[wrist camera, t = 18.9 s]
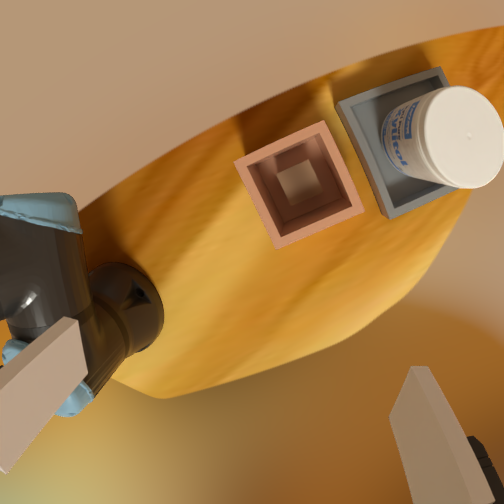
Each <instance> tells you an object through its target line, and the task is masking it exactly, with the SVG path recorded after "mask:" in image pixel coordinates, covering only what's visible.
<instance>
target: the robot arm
mask: <svg viewBox="0 0 504 504" xmlns="http://www.w3.org/2000/svg"><path fill="white" fill-rule="evenodd" d="M82 234H83V230H82V229H81V227H80V222H79V216H78V210H77V205H76V202H75V200H74V199H73V197H71V196H70V195H69V194H66V193H60V192H58V193H30V194H15V195H3V196H0V321H1V320H4V319H6V321H7V323H8V327H9V330H10V333H11V336H12V339H11V340H8V341H7V342H6V345H5V346H4V347H3V353H2V358H3V362H4V365H5V366H3V365H1V366H0V470H1V471H2V472H3V473H5V474H7V473H8V472H9V471H10V469H11V468H12V467H13V465H14V464H15V463H16V462H17V460H18V459H19V458H20V456H21V455H22V454H23V452H24V451H25V450H26V449H27V447H28V446H29V445H30V443H31V442H32V441H33V440H34V438H35V437H36V436H37V435H38V433H39V432H40V431H41V430H42V428H43V427H44V426H45V425H46V423H47V422H48V421H49V420H50V418H51V417H52V416H53V415H54V414H55V415H58V416H62V417H72V416H75V415H77V414H78V413H80V412H81V411H82V410H83V409H84V407H85V406H86V405H87V404H88V403H90V402H92V401H93V399H94V398H95V396H96V395H97V394H98V392H99V391H100V390H101V389H102V387H103V386H104V385H105V383H106V382H107V381H108V380H109V378H110V377H111V376H112V374H113V373H114V372H115V371H116V369H117V368H118V367H119V366H120V364H121V363H122V362H123V361H124V359H125V358H127V357H129V356H131V355H133V354H134V353H137V352H140V351H142V350H144V349H146V348H148V347H149V346H150V345H151V344H152V343H153V342H154V341H155V339H156V338H157V337H158V336H159V334H160V332H161V330H162V327H163V323H164V310H163V305H162V302H161V299H160V297H159V295H158V293H157V291H156V289H155V288H154V286H153V285H152V284H151V282H150V281H149V280H148V279H147V278H146V277H145V276H144V275H143V274H142V273H140V272H139V271H138V270H136V269H134V268H133V267H131V266H128V265H126V264H122V263H116V262H111V263H105V264H103V265H100V266H99V267H97V268H95V269H94V270H92V271H91V272H89V273H88V271H87V265H86V259H85V253H84V246H83V239H82ZM389 420H390V423H391V427H392V430H393V433H394V436H395V439H396V443H397V446H398V449H399V453H400V456H401V459H402V463H403V466H404V470H405V473H406V477H407V480H408V484H409V488H410V492H411V496H412V500H413V503H414V504H504V487H503V485H502V483H501V480H500V478H499V476H498V474H497V472H496V470H495V468H494V467H493V466H492V462H491V460H490V458H488V454H487V452H486V450H485V448H484V446H483V444H482V443H480V442H479V441H478V440H477V439H476V438H475V437H474V436H469V437H466V436H465V434H464V432H463V430H462V428H461V426H460V424H459V422H458V420H457V418H456V416H455V415H454V413H453V411H452V409H451V407H450V405H449V403H448V402H447V400H446V398H445V396H444V394H443V392H442V391H441V389H440V387H439V385H438V384H437V382H436V380H435V378H434V377H433V375H432V373H431V371H430V370H429V368H428V366H411V367H410V370H409V372H408V375H407V377H406V380H405V382H404V384H403V386H402V389H401V391H400V393H399V396H398V398H397V400H396V402H395V404H394V407H393V409H392V411H391V413H390V415H389Z"/></svg>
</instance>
